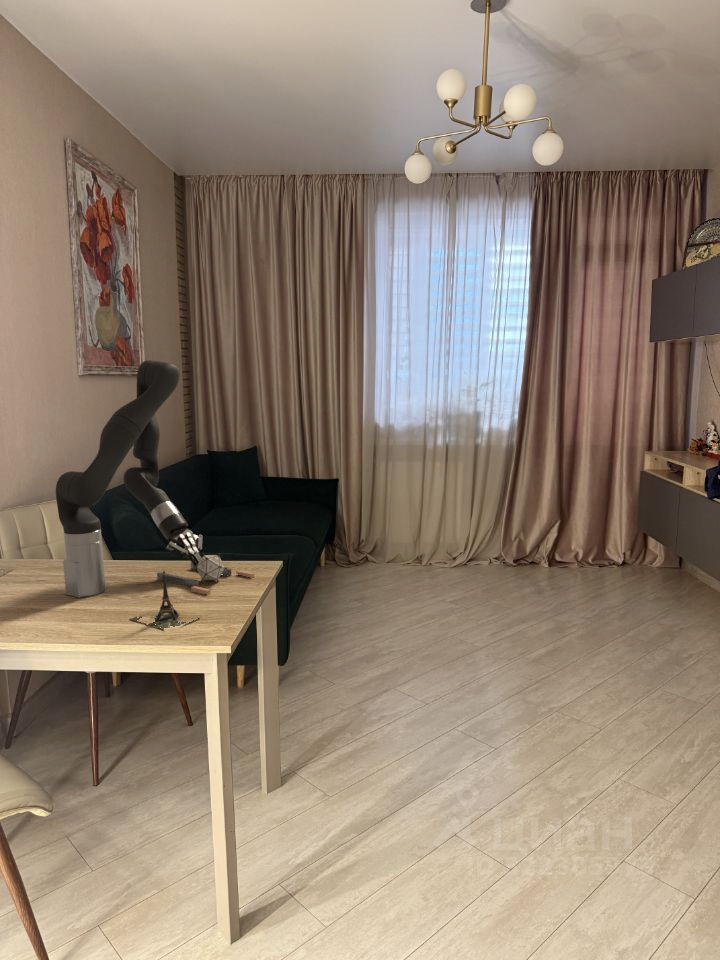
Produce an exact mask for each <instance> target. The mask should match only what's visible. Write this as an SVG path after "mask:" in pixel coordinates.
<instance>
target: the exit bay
mask: <svg viewBox="0 0 720 960" xmlns="http://www.w3.org/2000/svg"><path fill="white" fill-rule="evenodd" d="M235 572H236V573H235V574H238V575H242V576H241V577H243V576H246V577H245V578H248V577H250V578H249V579H254V578H255V573H254V572H249V571H246V570H240V569H239V570H235ZM238 575H237V576H238ZM253 577H254V578H253ZM190 588H191V592H192V591H193V592H192V593H196V592H198V593H197V594H200V593H202V594H201V595H204V594H209V595H211V589H209V588H205V587H201V586H199V587H197V586H194V587H190Z"/></svg>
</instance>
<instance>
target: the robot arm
mask: <svg viewBox="0 0 720 960" xmlns="http://www.w3.org/2000/svg"><path fill="white" fill-rule="evenodd" d="M179 382H180V370H179V368H178V366H176V365H175V364H173V363H170V362H165V361H160V360H159V361H158V360H152V359H150V360H148V359H147V360H144V361H142V362H141V363H140V365H139V367H138V369H137V373H136V398H135V399H133V400H131V401H129V402H128V403H127V404H124V405H123V406H121V407H120V408H118V409H117V410H115V412H114V413H112V415H111V417H110V418H109V420H108V421H107V422H106V424H105V425H104V426H103V428H102V430H101V433H100V437H99V445H98V446H99V447H98V452H97V454H96V456H95V458H94V459H93V460H92V462H91V463H90V465H89V466H88V467H87V468H86V469H85V470H83V471H73V470H72V471H67V472H63V474H61V475H60V476H59V478H58V479H57V481H56V484H55V485H56V486H55V498H56V506H57V507H56V508H57V513H58V519H59V522H60V524H61V526H62V529H63V536H64V537H63V539H64V549H65V559H64V560H63V561H62V563H63V565H62V566H63V576H64V585H65V586H64V587H65V594H66V595H68V596H72V597H75V598H78V599H79V598H84V597H91V596H95V595H98V594H99V595H100V594H102V593H103V592H105V591H106V577H105V564H104V563H105V562H104V555H103V551H104V550H103V539H102V538H103V537H102V526H101V520H100V519H99V518H98V516H96V515H95V514H94V512H92V510H91V509H90V507H94V506H95V505H96V504H98V503H99V502H100V500H101V499H102V498H103V496H104V495H105V493H106V491H107V490H108V487H109V485H110V484H111V482H112V480H113V478H114V475H115V474H116V472H117V470H118V469H119V467H120V465H121V464H122V463H123V461H124V460H125V458H126V457H127V455H128V453H129V452H130V450H131V449H132V448H133V449H132V455H133V457H134V458H135V459H137V460H139V463H140V467H137V466H135V467H134V466H133V467H129V468H127V469H126V470H125V472H124V473H123V479H122V480H123V484H124V486H125V488H126V490H128V491H129V492H130V494H131V495H132V496H134V497H135V498H136V500H138V501H139V502H140V503H141V504H143V506H144V507H145V508H146V510H147V511H148V513H149V514H150V516H151V518H152V520H153V522H154V523H155V525H156V527H157V528H158V529H159V531H160V532H161V533H162V535H163V537H164V539H166V540H167V542H168V544H167V546H166V547H165V550H166V551H168V552H169V553H171V554H173V555H175V556H177V557H178V558H181V559H185V558H186V559H188V560H189V561H190V563H191V562H192V564H193V565H194V566H197V565H198V563H199V562H200V560H201V559H202V556H201V555H200V551H202V549H203V537H204V536H203V535H202V534H199V535H196V534H194V532H193V531H192V530H191V529H190V527H189V524H188V522H187V520H186V519H185V518H184V516H183V515H182V513H181V512H180V511H179V509H178V508H177V506H175V504H174V503H173V502H172V501H171V499H170V498H169V496H168V494H166V492H165V491H164V490H162V489H161V488H158V487H157V485H158V483H159V479H160V472H159V469H160V468H159V461H158V460H159V459H158V453H159V452H158V450H159V444H160V436H161V434H160V433H161V432H160V426H159V423H158V420H157V418H156V417H157V416H156V413H157V411H159V409H160V408H161V407H162V405H163V404H164V403H165V402H166V401H167V400H168V399H169V398H170V396H171V395H172V394H173V392H174V391H175V390H176V388H177V386H178V385H179Z"/></svg>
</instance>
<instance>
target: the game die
mask: <svg viewBox="0 0 720 960" xmlns="http://www.w3.org/2000/svg"><path fill="white" fill-rule="evenodd" d="M220 555H221V552H219V553H218V554H205V553H204V552H202V556H201V558H202V559H201V560H200V562H199V563H198V565H197V566H193V567H194V568H197V570H196V571H197V572H198V574H199V576H200V579H201V580H200V583H203V581H216V582H217V583H218V582H219V581H220V580H219V578H220V577H221V576H222V575H221V574H222V572H223V571H224V569H228V567H225V566H224V564H223V561H222V559H221V556H220Z"/></svg>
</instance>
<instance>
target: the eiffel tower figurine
mask: <svg viewBox="0 0 720 960" xmlns="http://www.w3.org/2000/svg"><path fill="white" fill-rule="evenodd" d="M162 573H163V581H162V582H163V583H162V584H163V586H162V587H163V592H162V593H163V594H162V599H161V600H162V601H161V602H162V603H161V605H160V608H159V612H158V613H157V615H155V617H156V618H155V617H154V619H155V622H153V623H149V624H148V625H147V626H149V627H152V628H155V629H158V628H160V627H161V628H160V629H159V630H161V629H164V628H170V626H173V627H175V626H180V625H181V624H184V623H186V622H181V624H180V622H179V623H178V620H180V617H181V613H179V612H178V611H177V610H176V609H175V607H174V606H173V605H174V604H172V602H171V599H170V596H169V594H168V589H167V588H168V587H167V582H166V578H165V573H166V571H165V570H163V571H162ZM179 616H180V617H179ZM140 618H142V617H139V618H137V616H135V617H132V618H129V621H133V622H136V621H137V620H139V619H140ZM198 620H199V619H197V620H196V621H198ZM193 622H195V621H194V620H193ZM193 622H192V623H193ZM136 623H139V622H138V621H137V622H136ZM155 624H156V625H155ZM189 624H191V623H190V622H189Z"/></svg>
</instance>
